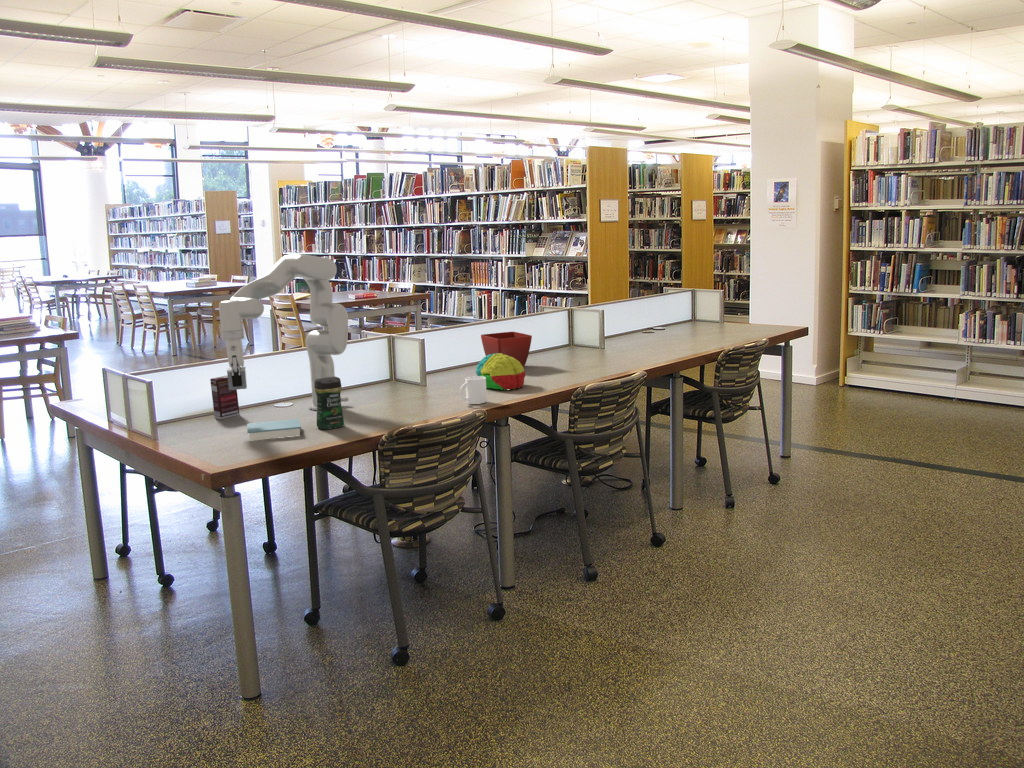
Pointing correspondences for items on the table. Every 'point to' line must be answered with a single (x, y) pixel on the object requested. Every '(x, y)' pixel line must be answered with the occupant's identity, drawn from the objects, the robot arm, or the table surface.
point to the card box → (243, 376)
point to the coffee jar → (328, 402)
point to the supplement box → (224, 398)
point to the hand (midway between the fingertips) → (237, 384)
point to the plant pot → (508, 345)
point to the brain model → (501, 371)
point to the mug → (474, 390)
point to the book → (273, 429)
